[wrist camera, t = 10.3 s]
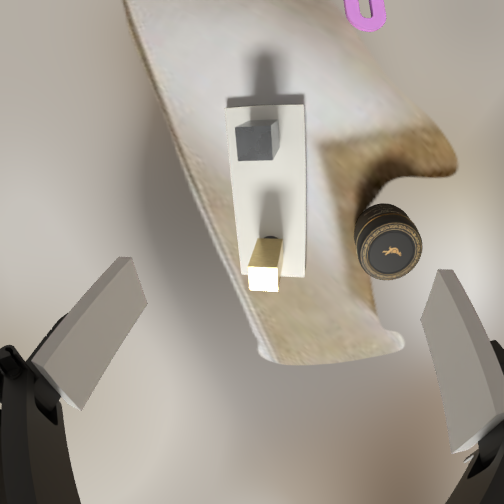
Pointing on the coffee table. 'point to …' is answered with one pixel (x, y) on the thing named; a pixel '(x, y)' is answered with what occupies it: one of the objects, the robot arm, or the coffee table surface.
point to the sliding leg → (266, 265)
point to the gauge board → (271, 187)
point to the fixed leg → (257, 140)
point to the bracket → (361, 22)
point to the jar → (387, 242)
